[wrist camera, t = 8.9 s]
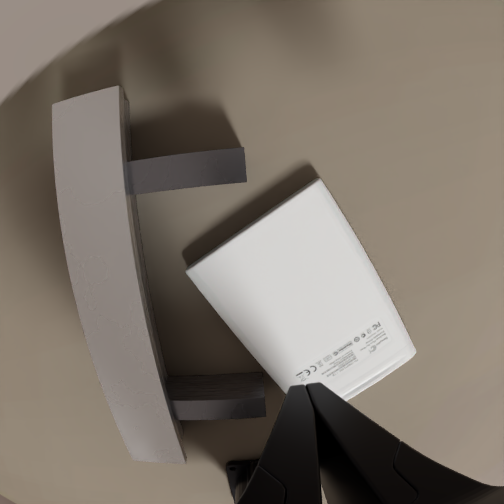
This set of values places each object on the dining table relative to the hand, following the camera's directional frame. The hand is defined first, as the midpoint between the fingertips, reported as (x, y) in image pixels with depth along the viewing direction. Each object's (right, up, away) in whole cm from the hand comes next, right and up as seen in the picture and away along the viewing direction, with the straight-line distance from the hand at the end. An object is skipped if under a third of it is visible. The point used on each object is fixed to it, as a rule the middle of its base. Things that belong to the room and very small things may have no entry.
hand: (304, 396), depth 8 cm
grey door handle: (-6, +2, +9) cm, 11 cm away
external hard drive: (+2, +1, +10) cm, 11 cm away
